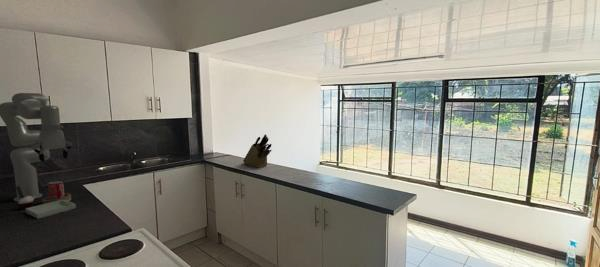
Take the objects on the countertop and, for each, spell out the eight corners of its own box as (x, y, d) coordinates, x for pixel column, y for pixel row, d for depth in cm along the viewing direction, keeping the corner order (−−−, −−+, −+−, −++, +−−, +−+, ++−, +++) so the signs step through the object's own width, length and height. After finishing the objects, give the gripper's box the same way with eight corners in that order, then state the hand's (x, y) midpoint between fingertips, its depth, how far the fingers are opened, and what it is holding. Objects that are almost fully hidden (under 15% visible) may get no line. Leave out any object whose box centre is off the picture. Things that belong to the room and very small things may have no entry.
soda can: (63, 198, 165) (61, 180, 164) (66, 201, 161) (64, 182, 160) (48, 202, 160) (46, 182, 159) (50, 204, 155) (48, 184, 154)
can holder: (39, 203, 158) (38, 198, 158) (65, 197, 169) (65, 192, 168) (48, 207, 152) (47, 201, 152) (74, 200, 163) (74, 195, 162)
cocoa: (35, 208, 151) (35, 187, 150) (20, 211, 146) (19, 190, 145) (31, 204, 156) (30, 184, 155) (16, 207, 151) (15, 186, 150)
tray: (26, 212, 143) (25, 208, 143) (63, 203, 157) (63, 199, 157) (37, 218, 136) (37, 214, 135) (76, 208, 150) (75, 204, 149)
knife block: (263, 169, 241) (262, 135, 237) (242, 163, 266) (242, 132, 263) (273, 167, 248) (272, 134, 245) (252, 162, 274) (251, 132, 271)
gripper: (68, 127, 154) (70, 156, 156) (26, 129, 139) (30, 161, 141) (74, 127, 150) (76, 157, 152) (32, 130, 135) (35, 163, 137)
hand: (54, 159), depth 147 cm, fingers open, 9 cm apart
